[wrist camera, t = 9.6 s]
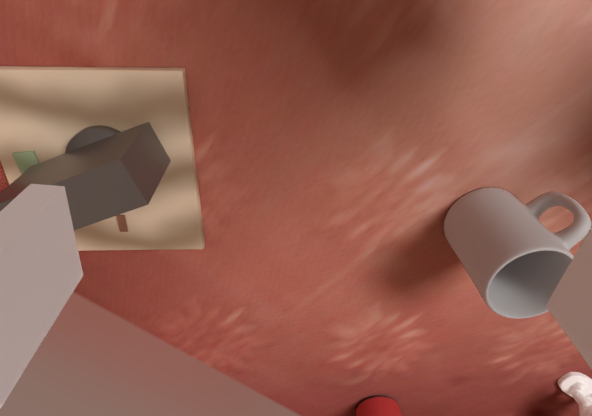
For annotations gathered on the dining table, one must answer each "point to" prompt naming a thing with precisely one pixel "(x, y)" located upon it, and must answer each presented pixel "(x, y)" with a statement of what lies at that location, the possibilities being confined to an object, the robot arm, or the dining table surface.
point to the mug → (513, 247)
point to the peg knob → (100, 172)
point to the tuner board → (121, 116)
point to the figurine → (578, 390)
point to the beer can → (378, 407)
